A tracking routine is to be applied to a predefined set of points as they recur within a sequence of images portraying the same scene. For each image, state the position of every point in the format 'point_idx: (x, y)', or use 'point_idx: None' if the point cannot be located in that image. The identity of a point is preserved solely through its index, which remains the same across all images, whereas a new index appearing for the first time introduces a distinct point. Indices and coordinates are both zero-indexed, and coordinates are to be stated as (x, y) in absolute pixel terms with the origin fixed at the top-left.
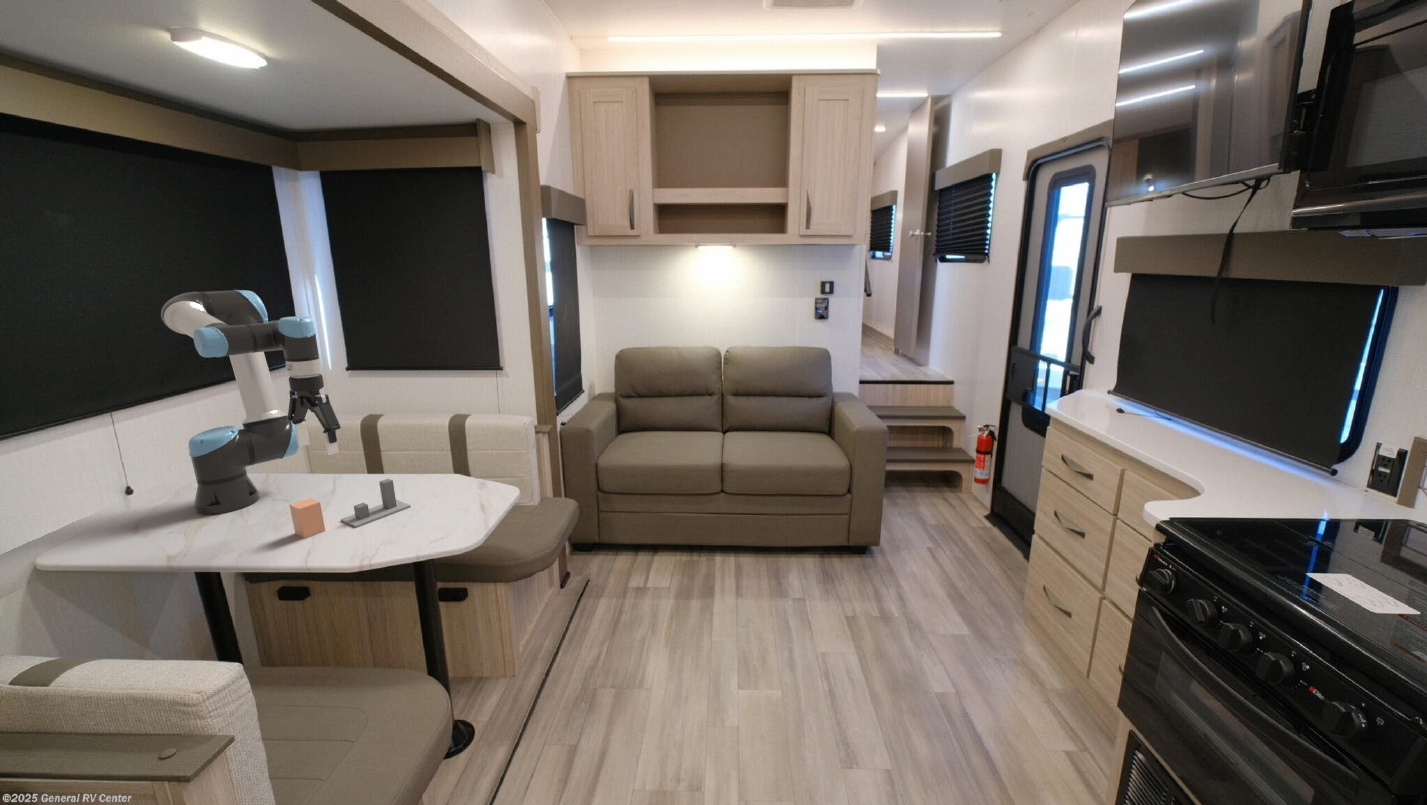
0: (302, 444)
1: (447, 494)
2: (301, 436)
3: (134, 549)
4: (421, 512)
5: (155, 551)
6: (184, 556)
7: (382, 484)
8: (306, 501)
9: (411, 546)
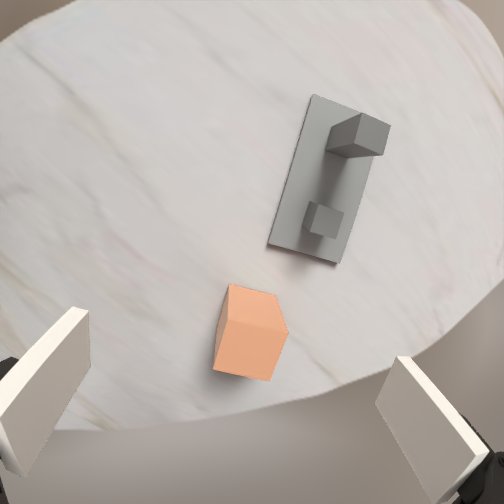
0: (86, 357)
1: (401, 40)
2: (62, 389)
3: None
4: (420, 145)
5: None
6: (115, 422)
7: (368, 150)
8: (241, 341)
9: (479, 287)
